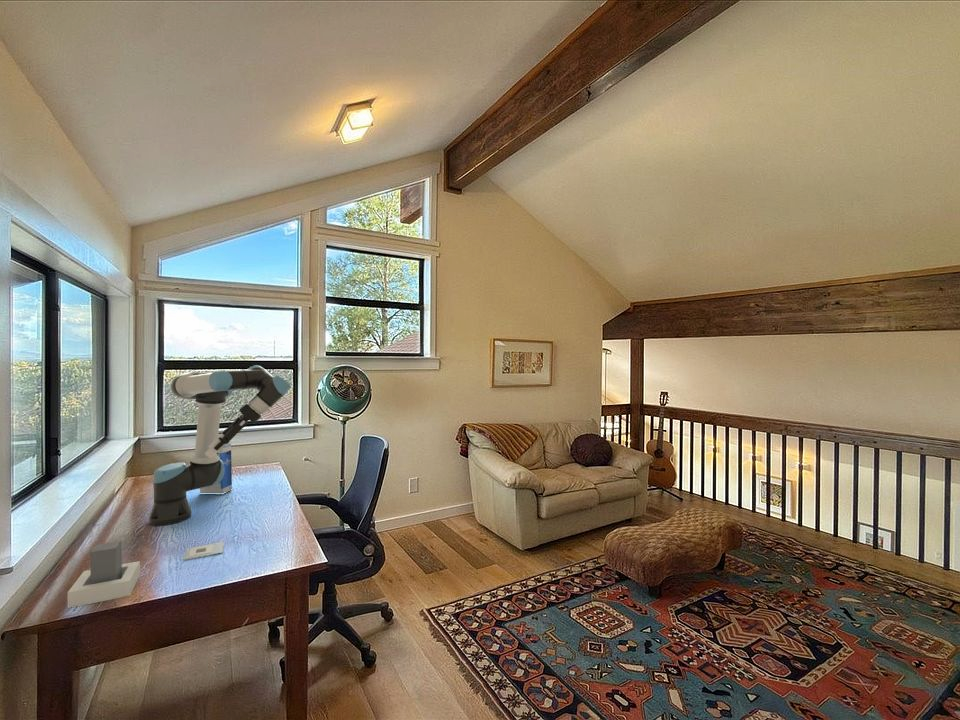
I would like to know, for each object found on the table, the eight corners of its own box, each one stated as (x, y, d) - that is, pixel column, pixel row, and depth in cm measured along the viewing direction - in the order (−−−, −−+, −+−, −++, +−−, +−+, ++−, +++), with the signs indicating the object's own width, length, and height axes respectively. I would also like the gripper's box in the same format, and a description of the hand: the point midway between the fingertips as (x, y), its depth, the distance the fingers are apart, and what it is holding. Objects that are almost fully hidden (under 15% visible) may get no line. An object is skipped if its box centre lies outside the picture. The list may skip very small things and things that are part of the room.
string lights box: (232, 490, 230) (232, 442, 230) (222, 495, 223) (222, 445, 222) (209, 490, 232) (208, 441, 231) (198, 494, 224) (198, 444, 224)
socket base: (84, 585, 136) (84, 570, 136) (140, 574, 143) (140, 561, 143) (67, 608, 124) (67, 592, 124) (129, 595, 130) (129, 580, 130)
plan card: (186, 549, 161) (186, 547, 161) (224, 542, 167) (224, 541, 167) (182, 560, 152) (182, 558, 152) (222, 553, 158) (222, 551, 158)
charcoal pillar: (97, 582, 135) (96, 544, 135) (121, 578, 138) (121, 540, 137) (90, 592, 129) (90, 552, 129) (116, 587, 132) (115, 547, 132)
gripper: (263, 419, 159) (215, 466, 152) (261, 411, 181) (219, 452, 174) (246, 406, 156) (197, 452, 149) (247, 399, 178) (203, 439, 171)
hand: (209, 452), depth 162 cm, fingers open, 13 cm apart
